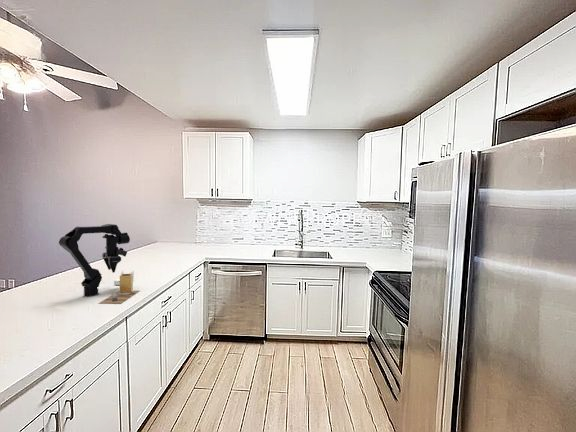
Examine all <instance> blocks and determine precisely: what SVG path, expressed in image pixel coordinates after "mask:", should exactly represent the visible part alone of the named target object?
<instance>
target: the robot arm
mask: <svg viewBox="0 0 576 432" xmlns="http://www.w3.org/2000/svg"><path fill="white" fill-rule="evenodd" d="M128 233H129V232H122V231H121V230H120V229H119V226H118V225H117V224H112V223H107V224H103V225H98V226H97V225H96V226H95V225H93V226H76V227H74V228H73V229H72V230H70V231H69V232H67V233H66V234H65V235H64V236H62V237H60V239H59V241H58V244H59V246H61V248H63V250H65V251H67V252H68V253H69V254H70V256H71V257H72V258H73V260H74V261H75V262H76V264H77V265H78V266H79V267H80V269H81V270H82V272H83V277H84V279H83V280H82V281H81V283H80V284H81V286H82V287H83V296H82V297H83V298H85V297H93V296H97V295H99V287H100V284H101V282H102V280H103V276H102V274H101V271H99V269H97V268H94V267H92V266H91V264H90V263H89V262H88V260H87V259H86V257H85V256H84V255H83V253H82V252H81V251H80V249H79V244H78V242H79V241H80V239H81V238H82V236H83V235H84V234H86V235H87V234H104V235H103V236H102V237H101V238H103V239H105V245H106V246H105V252H103V253H102V254H101V255H102V256H101V257H102V260H103V261H104V263H105V265H106V266H107V267H106V268H107V269H108V271H109V270H110V271H111V272H112V273H115V272H116V269H117V266H118V264H119V263H121V261H122V257H126V256H127V254H128V251H127V250H125V249H124V248H123V247H118V245H125V244H129V243H130V242H131V238H130V235H129V234H128ZM121 256H122V257H121Z"/></svg>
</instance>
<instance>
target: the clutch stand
mask: <svg viewBox="0 0 576 432" xmlns="http://www.w3.org/2000/svg"><path fill="white" fill-rule="evenodd" d="M139 292H141V290H133V291H132V292H131V293H120V290H118V291H117V292H116V293H112V295H109V296H108V297H107V298H105V299H103V300H102V301H100V302H99V303H97V304H99V305H122V304H124V303H125V302H127V301H128V300H129V299H131V298H133V297H134V296H135V295H137V294H139Z"/></svg>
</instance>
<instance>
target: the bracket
mask: <svg viewBox="0 0 576 432" xmlns="http://www.w3.org/2000/svg"><path fill="white" fill-rule="evenodd" d="M121 274H127V273H126V271H125V270H121V273H120V275H121ZM129 274H133V282H134V280H135V279H134V270H131V271H130V272H129ZM113 285H115V286H120V277H119V278H117V279H115V280H114V281H113Z"/></svg>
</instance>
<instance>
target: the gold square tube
mask: <svg viewBox="0 0 576 432" xmlns="http://www.w3.org/2000/svg"><path fill="white" fill-rule="evenodd" d="M119 278H120V285H119V291H120V293H131V292H132V291H134V287H133V286H134V283H133V282H134V281H133V274H130V273H126V274H121V273H120V275H119Z"/></svg>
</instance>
